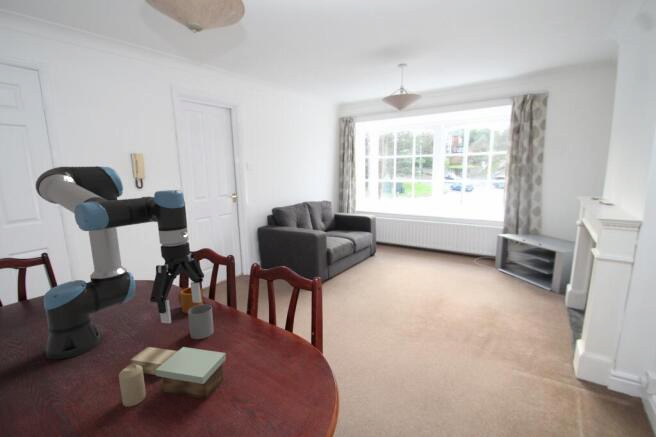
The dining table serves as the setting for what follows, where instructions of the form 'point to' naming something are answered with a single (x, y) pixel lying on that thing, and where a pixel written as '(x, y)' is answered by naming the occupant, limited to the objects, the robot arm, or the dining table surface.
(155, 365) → the block
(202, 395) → the walnut box
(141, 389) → the candle
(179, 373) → the lid
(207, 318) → the cup
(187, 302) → the mug
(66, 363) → the dining table surface
